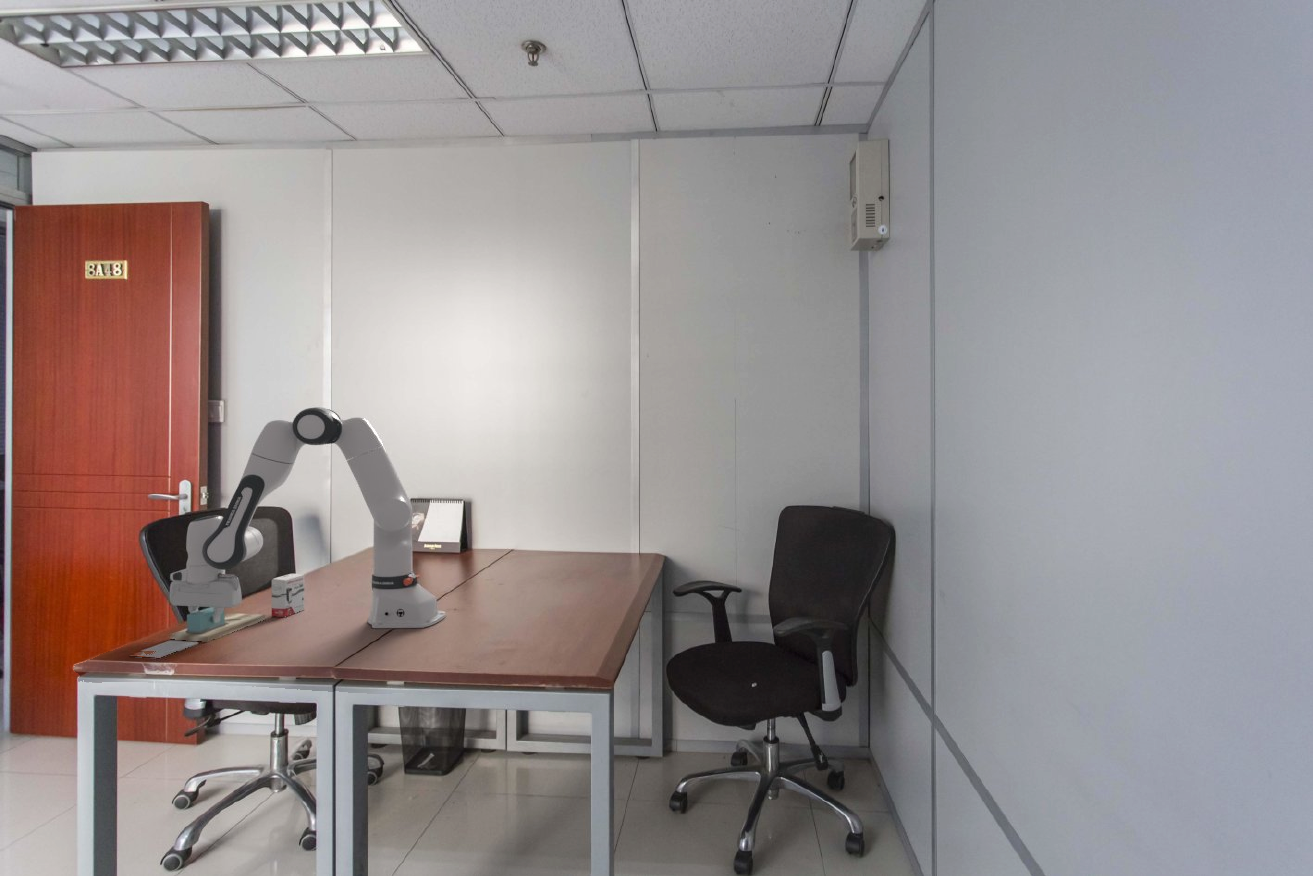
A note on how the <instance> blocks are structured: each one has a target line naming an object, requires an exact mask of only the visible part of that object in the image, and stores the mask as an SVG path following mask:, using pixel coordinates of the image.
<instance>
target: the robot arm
mask: <svg viewBox="0 0 1313 876" xmlns="http://www.w3.org/2000/svg"><path fill="white" fill-rule="evenodd" d="M332 444H335V445H336V446H337V447H338V448H339V449H340V450H341V453H342V454H343V457H344V458H345V460H346V462H347V465H348V466H349V469H350V471H351V473H352V475H353V477H354V480H355V481H356V484H357V485H358V487H359V489H360V492H361V494H362V497H363V498H364V501H365V503H366V506H367V508H368V510H369V512H370V515H371V516H372V519H373V549H372V550H373V552H372V553H373V554H372V557H373V558H372V559H373V574H372V575H371V588H372V597H371V604H370V605H371V606H370V610H369V615H368V618H367V623H368V624H370V625H371V627H372V629H412V628H413V629H420V628H421V629H424V628H427V627H431V626H432V625H435V624H437V623H439V622H441V621H443V619H445V618H446V611H443V610H439V607H438V606H439V605H438V601H437V598H436V596H435V595H434V594H432V593H430V591H428V590H427V589H425V588H424V587H423V586H421V585H420V584H419V581H418V579H420V578H421V573H419V574H417V575H416V573H415V572H414V570H413V515H414V510H413V509H414V508H413V506H412V505H413V504H412V501H411V499H410V498H409V497H408V495H407V493H406V489H404V486H403V484H402V482H401V480H400V477H399V476H398V473H397V471H396V469H395V467H394V465H393V463H392V461H391V458H390V456H389V454H388V452H387V450H386V448H385V446H384V444H383V441H382V440H381V438H380V437H379V435H378V433H377V431H376V430H375V429H374V427H373V426H372V425H371V423H370V422H369V421H368V420H367V419H366V418H363V417H350V418H347V419H342V418H341V417H340V416H339V414H337V412H335V411H334V410H331V409H330V408H329V409H328V408H325V407H320V406H318V407H317V406H315V407H309V408H305V409H303V410H301V411H299V412H298V413H297V414H296V415H295V417H294V418H293V421H288V420H284V419H283V420H282V419H281V420H279V419H277V420H271V421H269V422H267V423H266V425H265V426H264V427H263V429H262V430H261V432H260V434H259V435H258V437H257V438H256V441H255V442H254V445H253V447H252V449H251V452H250V455H249V458H248V460H247V463H246V465H245V469H244V471H243V473H242V476H241V478H240V481H239V482H238V485H237V488H236V489H235V492H234V493H233V495H232V498H231V500H230V502H229V503H228V505H227V506H228V507H227V508H226V510H225V513H224V515H219V514H218V515H216V514H212V515H207V516H203V517H200V518H199V517H198V518H195V519H193V520H191V522H190V523H189V524H188V526H187V532H186V543H185V545H186V546H185V547H186V552H187V561H186V564H185V565H186V567H185V568H184V569H180V570H177V571H173V572H172V573H170V574H169V580H170V581H171V583H170V586H169V602H170V604H171V605H172V606H182V607H187V608H188V612H189V614H191V613H194V612H197V611H199V608H200V607H201V608H202V607H203V608H210V607H213V611H215V613H214V615H213V616H211V617H210V619H211V620H210V622H211V623H217V622H219V621H220V615H221V614H222V612H223V610H224V608H225V609H232V608H233V609H234V608H236V607H239V606H240V605H241V604H242V601H243V598H242V597H243V596H242V589H241V585H240V584H241V583H240V579H239V578H238V577H237V576H236V575H235V574H232V573H231V574H230V573H229V574H228V573H226V570H229V569H230V570H231V569H232V568H235V567H236V566H238V565H239V564H240V563H242V562H245V561H246V560H248V559H251V558H252V557H254V556H255V555H257V554H258V553H259V552H260V551H261V550H263V547H264V541H265V539H264V536H263V534H262V533H261V531H260V530H259V529H258V528H257V527H254V526H251V525H250V524H251V522H252V519H253V516H254V515H255V513H256V510H257V508H258V507H259V505H260V504H261V502H262V501H263V500H264V499H265V498H267V496H269V495H270V494H271V493H273V492H274V491H275V490H277V489H279V488H280V487H281V486H283V485H284V484H285V482H286V481H287V479H288V477H289V475H290V474H291V471H293V467H294V464H295V461H296V459H297V456H298V454H299V452H300V450H301V449H302V447H304V446H305V445H309V446H323V445H332Z"/></svg>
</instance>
